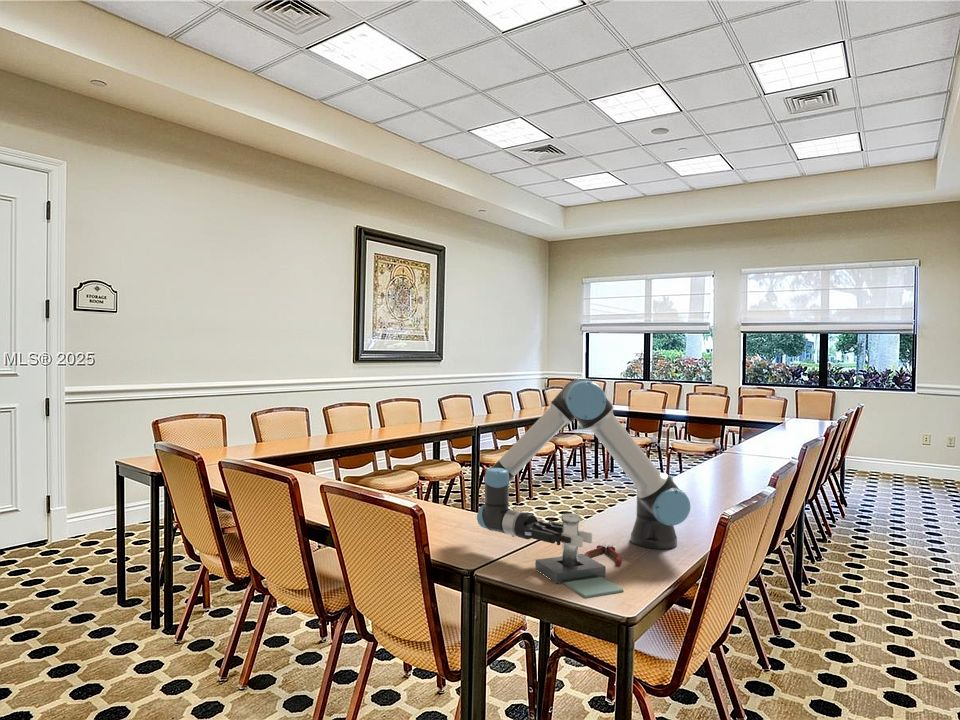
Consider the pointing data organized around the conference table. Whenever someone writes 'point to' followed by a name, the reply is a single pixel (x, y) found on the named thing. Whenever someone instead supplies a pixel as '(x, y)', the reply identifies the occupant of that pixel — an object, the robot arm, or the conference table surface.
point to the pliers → (605, 549)
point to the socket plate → (570, 569)
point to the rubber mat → (593, 587)
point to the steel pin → (569, 551)
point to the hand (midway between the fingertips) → (586, 540)
